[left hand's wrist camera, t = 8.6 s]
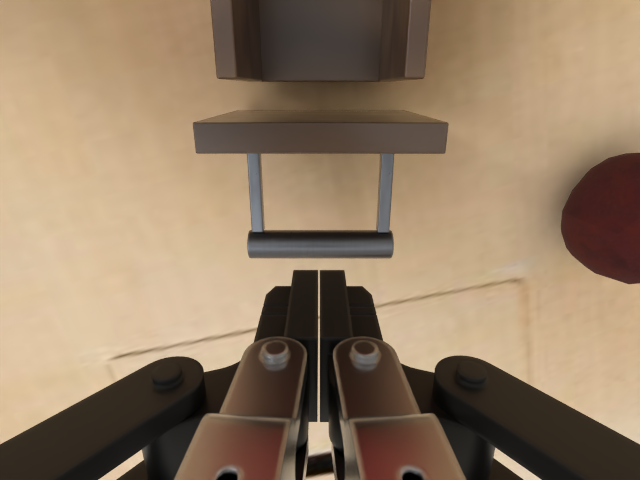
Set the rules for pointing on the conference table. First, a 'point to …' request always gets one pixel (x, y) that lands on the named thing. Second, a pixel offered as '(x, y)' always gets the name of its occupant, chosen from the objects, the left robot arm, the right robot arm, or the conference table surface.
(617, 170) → the dark maroon ball
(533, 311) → the conference table surface
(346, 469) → the left robot arm
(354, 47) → the drawer
